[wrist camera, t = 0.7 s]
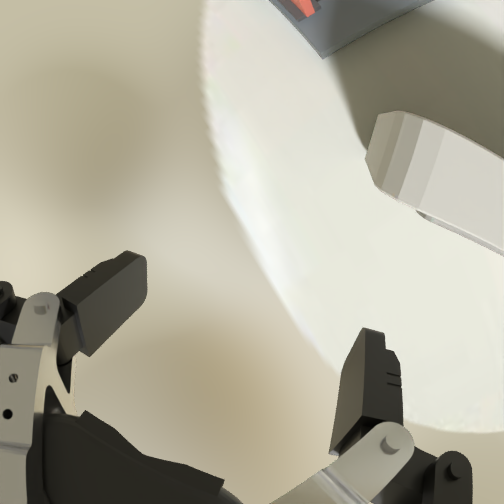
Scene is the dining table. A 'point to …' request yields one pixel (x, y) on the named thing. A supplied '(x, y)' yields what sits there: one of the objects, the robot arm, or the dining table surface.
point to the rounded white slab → (440, 176)
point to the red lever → (300, 8)
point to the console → (346, 20)
